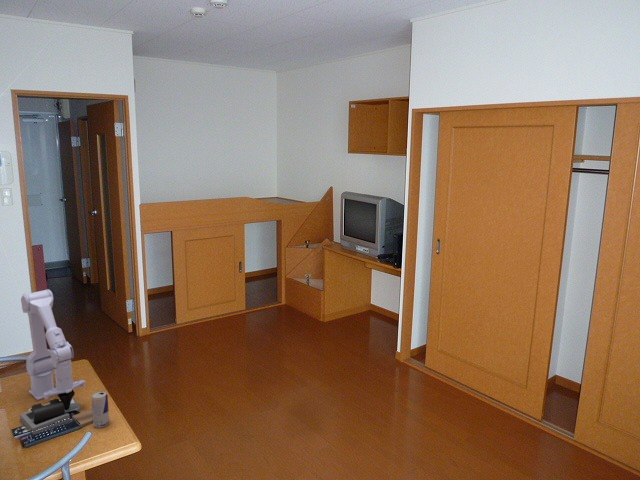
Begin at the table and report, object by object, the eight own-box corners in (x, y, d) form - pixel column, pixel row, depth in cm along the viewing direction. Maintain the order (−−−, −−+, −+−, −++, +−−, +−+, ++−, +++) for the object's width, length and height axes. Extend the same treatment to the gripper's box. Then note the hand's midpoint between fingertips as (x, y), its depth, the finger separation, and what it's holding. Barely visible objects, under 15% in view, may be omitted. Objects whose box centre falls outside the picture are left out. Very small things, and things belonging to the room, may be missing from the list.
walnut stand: (72, 419, 185) (71, 416, 185) (93, 410, 191) (93, 407, 191) (81, 427, 180) (81, 424, 180) (103, 418, 186) (102, 415, 186)
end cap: (35, 430, 178) (34, 413, 176) (31, 421, 183) (29, 404, 182) (66, 420, 184) (64, 403, 183) (61, 412, 189) (59, 396, 188)
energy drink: (112, 421, 184) (110, 391, 182) (103, 429, 179) (101, 399, 177) (99, 419, 186) (97, 389, 183) (90, 427, 180) (88, 397, 178)
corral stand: (20, 420, 183) (19, 414, 183) (56, 407, 193) (55, 401, 192) (33, 434, 175) (32, 428, 174) (69, 420, 184) (69, 414, 184)
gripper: (47, 386, 178) (50, 420, 181) (87, 373, 189) (90, 405, 192) (40, 380, 183) (43, 413, 186) (80, 367, 194) (82, 399, 196)
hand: (66, 409), depth 189 cm, fingers closed
